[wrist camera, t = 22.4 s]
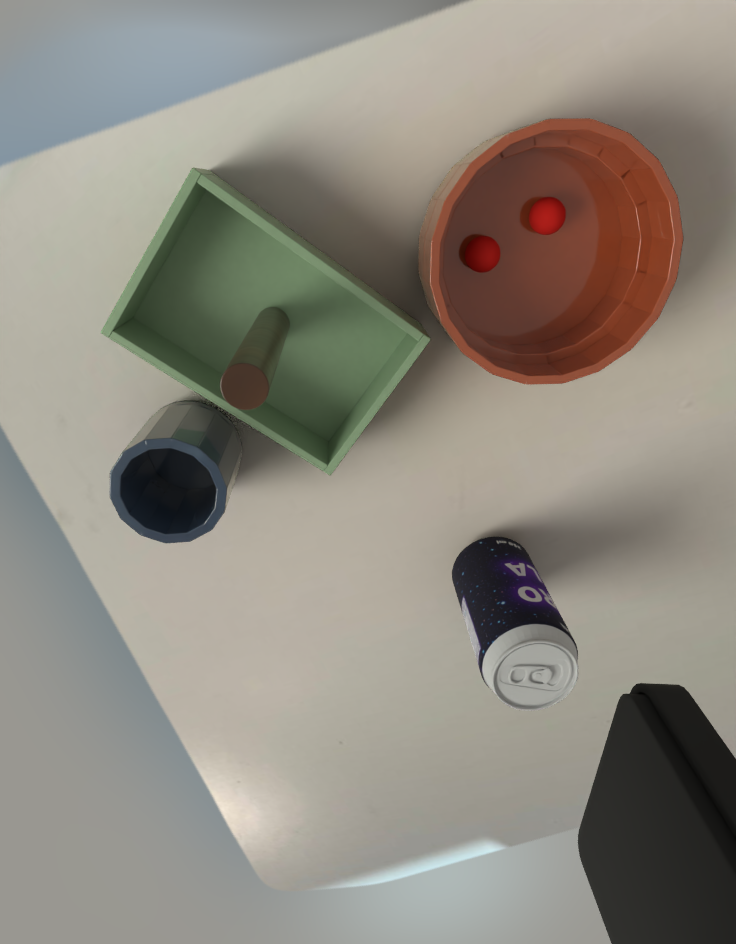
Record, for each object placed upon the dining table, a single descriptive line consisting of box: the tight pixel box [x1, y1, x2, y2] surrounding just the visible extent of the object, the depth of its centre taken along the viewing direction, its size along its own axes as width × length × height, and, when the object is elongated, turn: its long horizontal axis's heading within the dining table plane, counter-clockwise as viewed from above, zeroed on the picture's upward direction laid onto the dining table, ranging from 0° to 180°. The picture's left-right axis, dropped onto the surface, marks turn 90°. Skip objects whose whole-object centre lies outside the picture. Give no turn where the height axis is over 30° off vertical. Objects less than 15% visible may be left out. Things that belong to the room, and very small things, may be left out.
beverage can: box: [452, 537, 578, 711], centre depth 42 cm, size 6×6×12 cm
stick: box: [220, 307, 290, 410], centre depth 34 cm, size 2×2×14 cm
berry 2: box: [529, 197, 566, 235], centre depth 37 cm, size 2×2×2 cm
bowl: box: [418, 118, 683, 384], centre depth 37 cm, size 13×13×6 cm
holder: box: [110, 401, 242, 543], centre depth 40 cm, size 6×6×7 cm
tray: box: [101, 168, 431, 475], centre depth 38 cm, size 15×10×4 cm, turn 55°
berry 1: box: [465, 236, 500, 273], centre depth 38 cm, size 2×2×2 cm
